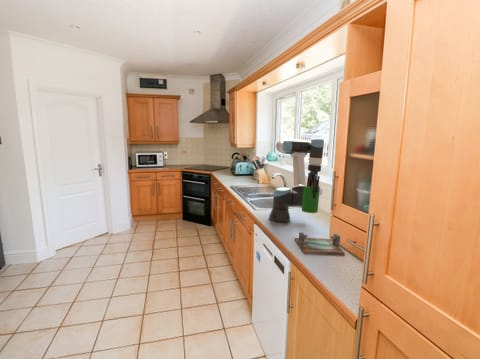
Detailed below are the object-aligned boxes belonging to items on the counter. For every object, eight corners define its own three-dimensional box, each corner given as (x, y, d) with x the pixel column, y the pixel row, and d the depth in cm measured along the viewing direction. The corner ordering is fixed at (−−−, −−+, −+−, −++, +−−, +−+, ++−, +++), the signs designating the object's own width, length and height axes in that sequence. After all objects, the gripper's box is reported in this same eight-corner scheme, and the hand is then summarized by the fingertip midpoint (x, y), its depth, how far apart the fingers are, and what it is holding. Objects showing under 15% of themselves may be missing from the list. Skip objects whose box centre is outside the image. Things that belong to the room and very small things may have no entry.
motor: (306, 207, 167) (310, 177, 164) (320, 210, 162) (323, 179, 158) (299, 210, 160) (303, 178, 156) (313, 214, 154) (317, 181, 151)
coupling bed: (294, 240, 153) (295, 227, 152) (330, 241, 155) (332, 229, 153) (303, 253, 135) (305, 240, 134) (344, 255, 137) (346, 241, 136)
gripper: (303, 162, 166) (300, 197, 170) (314, 166, 146) (310, 205, 150) (315, 162, 166) (311, 197, 170) (327, 167, 147) (322, 206, 151)
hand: (310, 201), depth 160 cm, fingers closed on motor, 7 cm apart
